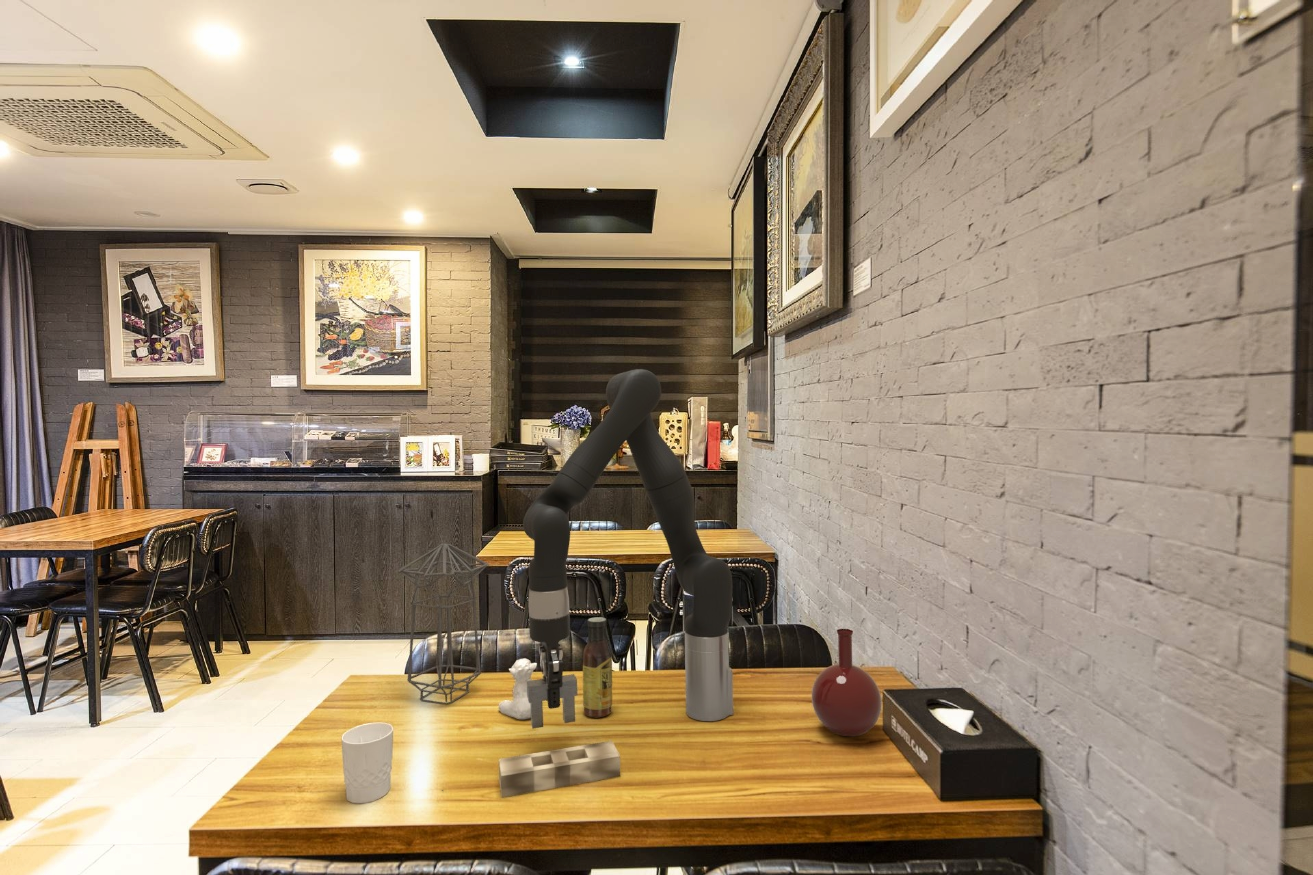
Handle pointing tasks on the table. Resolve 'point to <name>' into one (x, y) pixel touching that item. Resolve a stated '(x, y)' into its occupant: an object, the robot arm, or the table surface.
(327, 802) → the table surface
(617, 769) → the rail
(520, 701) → the seated beast figurine
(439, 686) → the geometric lantern
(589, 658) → the sauce bottle
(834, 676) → the round-bottom flask
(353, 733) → the white cup
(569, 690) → the grey notched block
